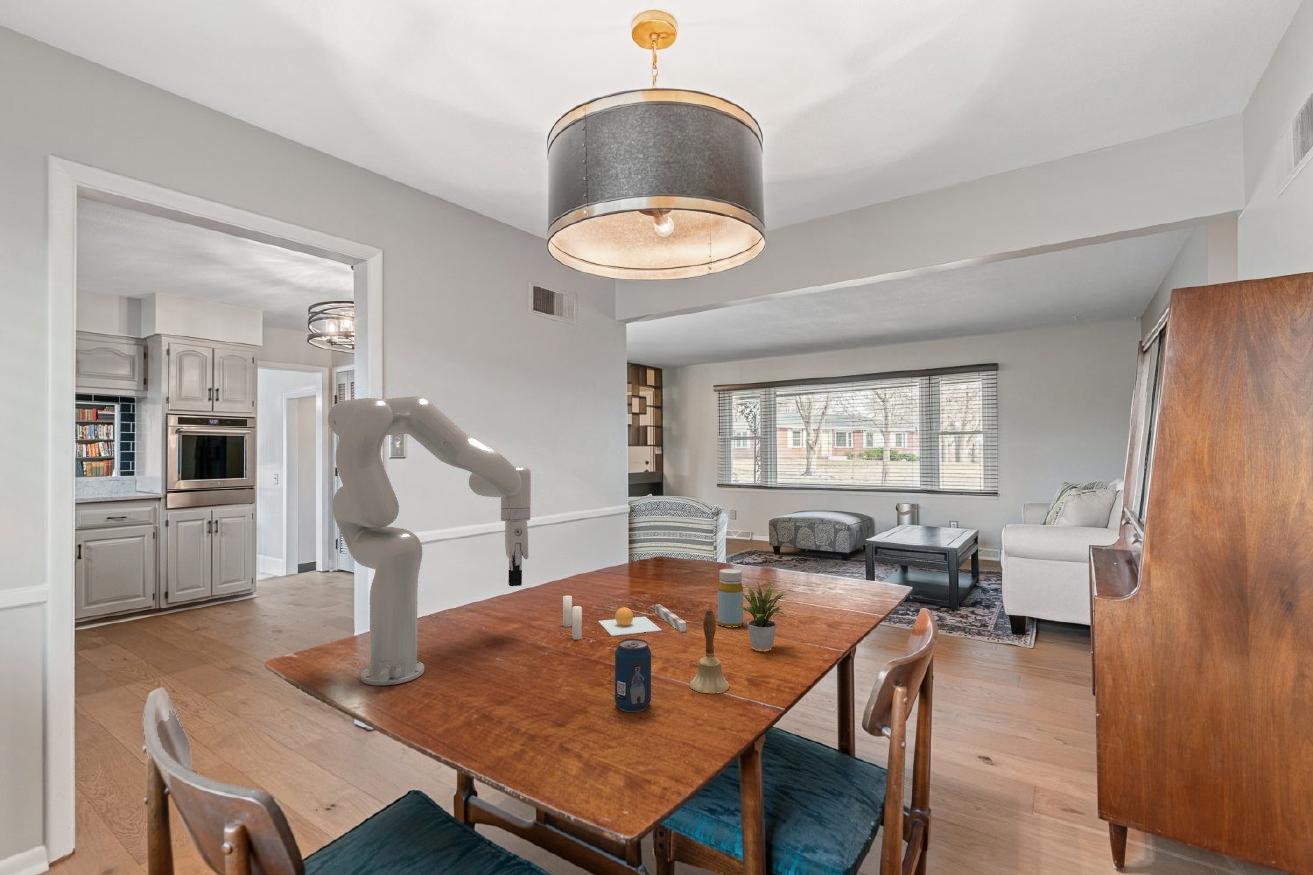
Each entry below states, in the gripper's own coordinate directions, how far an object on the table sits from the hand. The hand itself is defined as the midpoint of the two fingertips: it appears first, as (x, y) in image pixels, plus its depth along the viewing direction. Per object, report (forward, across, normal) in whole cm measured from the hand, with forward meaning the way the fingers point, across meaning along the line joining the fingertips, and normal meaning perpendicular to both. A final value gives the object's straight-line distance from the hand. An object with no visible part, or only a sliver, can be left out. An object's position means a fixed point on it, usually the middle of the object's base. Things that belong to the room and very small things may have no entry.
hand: (515, 585), depth 160 cm
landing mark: (+13, 0, -31) cm, 34 cm away
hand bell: (+14, -46, -34) cm, 59 cm away
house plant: (+14, -30, -56) cm, 65 cm away
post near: (+13, -6, -15) cm, 21 cm away
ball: (+11, +1, -30) cm, 32 cm away
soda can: (+14, -50, -16) cm, 54 cm away
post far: (+13, +6, -15) cm, 21 cm away
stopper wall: (+13, 0, -43) cm, 45 cm away
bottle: (+14, -8, -58) cm, 60 cm away
